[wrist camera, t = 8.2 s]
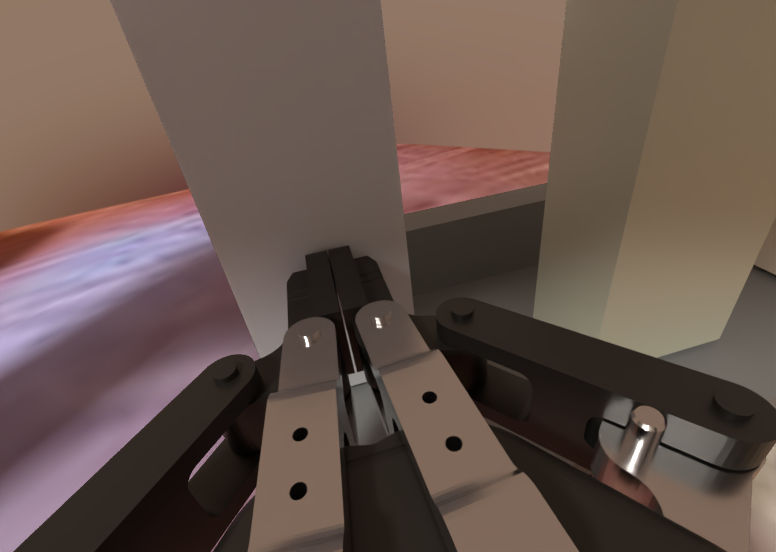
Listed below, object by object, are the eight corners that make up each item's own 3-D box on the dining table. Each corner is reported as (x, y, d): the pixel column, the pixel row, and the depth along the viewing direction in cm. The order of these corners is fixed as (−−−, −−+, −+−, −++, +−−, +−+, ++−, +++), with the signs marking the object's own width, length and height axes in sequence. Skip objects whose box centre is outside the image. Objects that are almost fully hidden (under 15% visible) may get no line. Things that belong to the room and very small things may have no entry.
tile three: (420, 367, 17) (374, -55, 9) (280, 405, 16) (100, -23, 8) (394, 308, 20) (345, -28, 13) (279, 337, 19) (154, -4, 12)
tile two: (719, 338, 16) (941, -144, 8) (589, 378, 15) (705, -119, 8) (636, 282, 20) (739, -89, 12) (528, 312, 19) (565, -68, 11)
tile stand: (1022, 327, 16) (1134, 218, 13) (277, 580, 12) (219, 495, 9) (724, 211, 27) (752, 137, 24) (276, 322, 23) (249, 248, 20)
